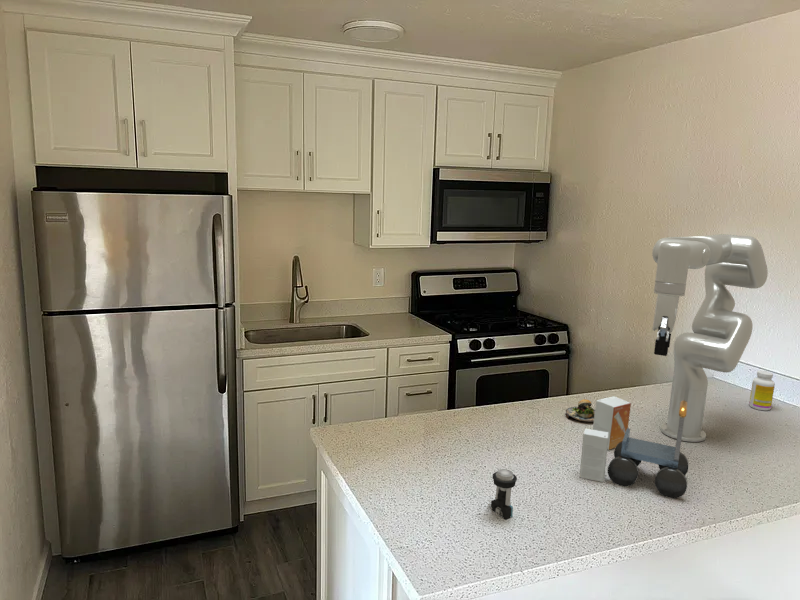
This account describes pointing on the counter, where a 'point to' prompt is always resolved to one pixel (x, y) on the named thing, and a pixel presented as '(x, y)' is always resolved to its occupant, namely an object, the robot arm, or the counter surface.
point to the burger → (581, 411)
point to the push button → (503, 493)
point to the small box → (612, 419)
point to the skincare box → (594, 455)
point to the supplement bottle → (762, 391)
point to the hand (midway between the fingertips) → (661, 350)
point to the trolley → (652, 461)
